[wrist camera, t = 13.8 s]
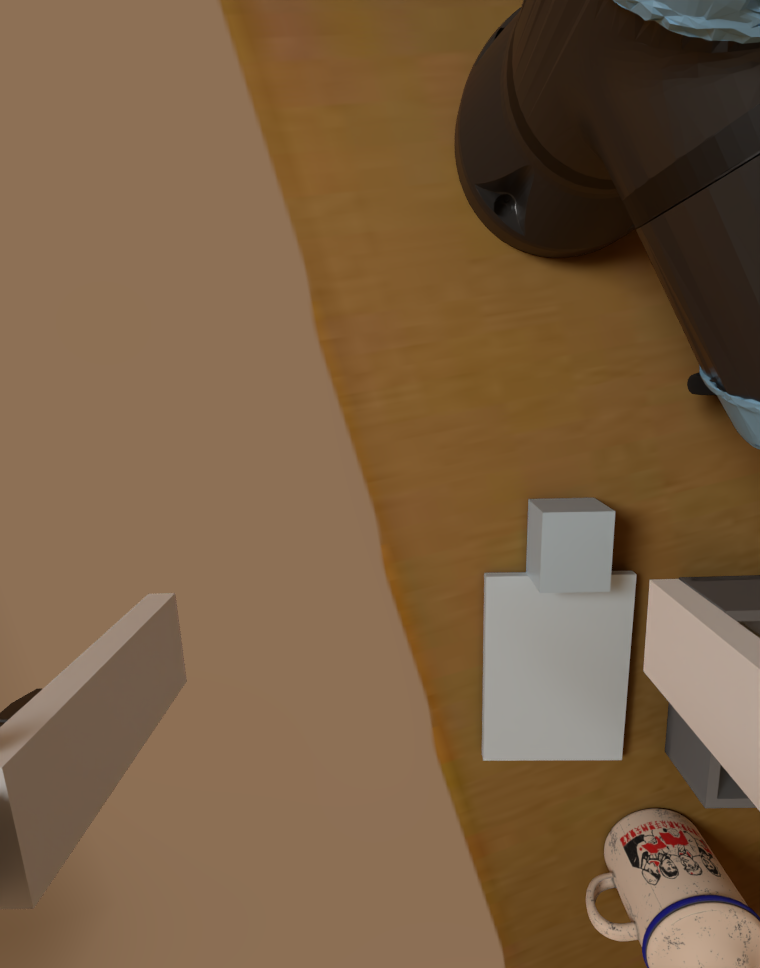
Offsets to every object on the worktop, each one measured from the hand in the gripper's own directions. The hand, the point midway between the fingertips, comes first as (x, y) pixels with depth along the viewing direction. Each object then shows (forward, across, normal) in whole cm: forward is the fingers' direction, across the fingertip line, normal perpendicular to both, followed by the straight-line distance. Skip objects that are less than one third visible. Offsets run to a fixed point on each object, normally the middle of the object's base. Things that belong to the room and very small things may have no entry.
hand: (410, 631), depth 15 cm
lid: (+27, +12, -14) cm, 33 cm away
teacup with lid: (+27, +20, -36) cm, 49 cm away
